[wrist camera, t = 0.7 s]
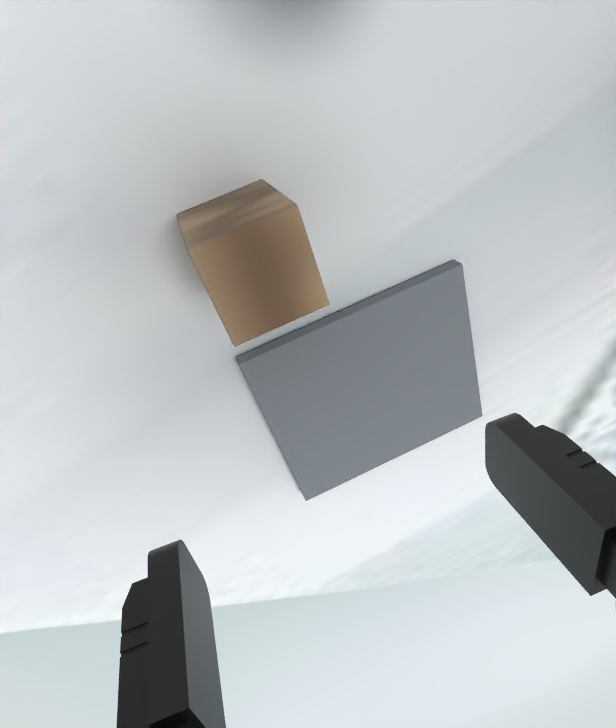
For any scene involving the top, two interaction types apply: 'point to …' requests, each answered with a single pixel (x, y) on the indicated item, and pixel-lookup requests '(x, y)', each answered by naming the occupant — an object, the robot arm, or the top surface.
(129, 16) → the top surface
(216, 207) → the walnut block
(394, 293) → the charcoal mat
